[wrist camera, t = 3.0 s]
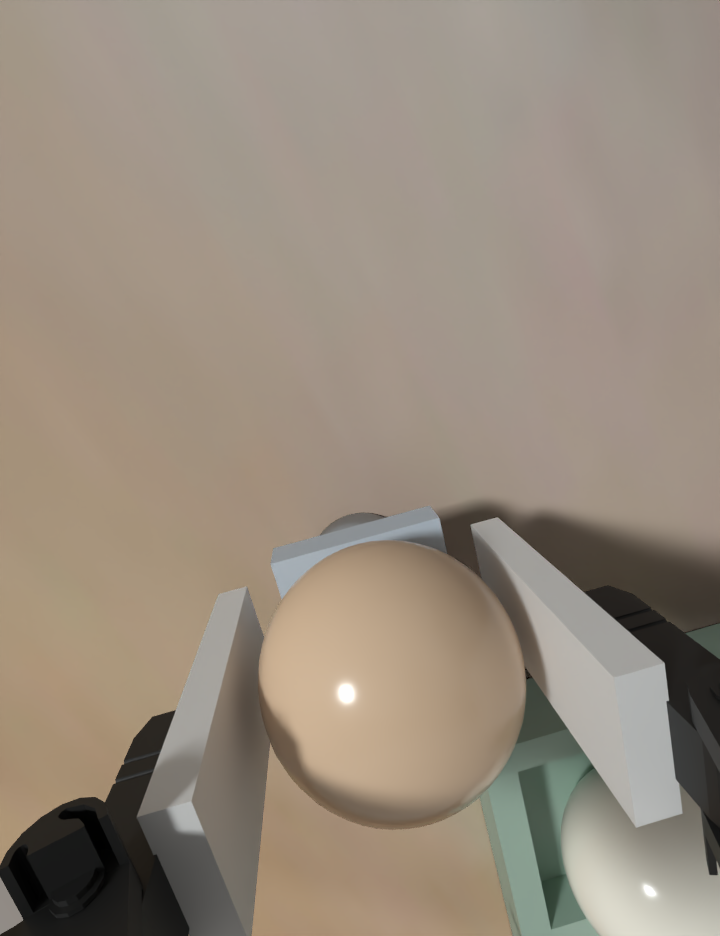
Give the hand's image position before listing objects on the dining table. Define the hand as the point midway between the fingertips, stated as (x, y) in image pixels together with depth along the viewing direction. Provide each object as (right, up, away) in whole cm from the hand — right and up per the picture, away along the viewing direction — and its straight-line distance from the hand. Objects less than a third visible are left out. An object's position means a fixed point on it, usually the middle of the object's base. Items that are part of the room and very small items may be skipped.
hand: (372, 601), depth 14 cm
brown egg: (0, 0, 0) cm, 0 cm away
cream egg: (+8, -8, +4) cm, 12 cm away
